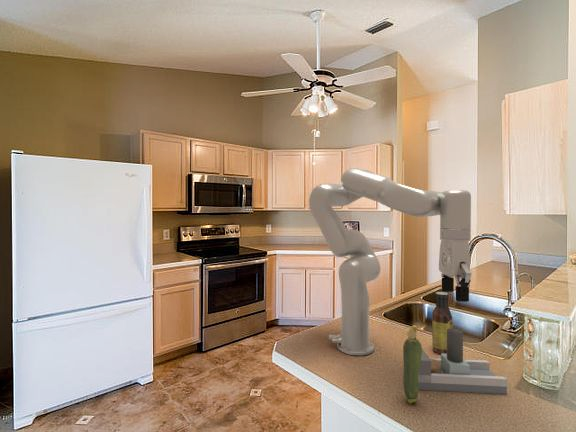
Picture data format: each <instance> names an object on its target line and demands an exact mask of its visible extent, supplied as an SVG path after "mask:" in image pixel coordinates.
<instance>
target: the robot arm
mask: <svg viewBox="0 0 576 432" xmlns="http://www.w3.org/2000/svg"><path fill="white" fill-rule="evenodd" d="M340 183H341V184H340ZM340 183H339V184H338V183H327V182H326V183H320V184H317V185H316V186H314V188H312V190H311V193H310V195H309V198H308V199H309V200H308V205H309V211H310V213H311V215H312V217H313V219H314V220H315V222H316V224H317V226H318V228H319V230H320V232H321V234H322V236H323V238H324V239H325V242H326V244H327V246H328V247H329V250H330V251H331V253H332V254H333V256H335V257H336V258H337V257H338V258H345V257H350V258H348V259H345V260H344V261H343V262H342V263H340V265H339V268H338V279H339V284H340V285H339V286H340V293H341V294H340V296H341V297H340V298H341V330H340V332H339V333H337V334H332V333H331V334H328V341H332V343H334V344H335V343H337V344H336V346H337V349H338V350H339V351H340V352H342V353H344V354H347V355H350V356H354V357H355V356H356V357H357V356H359V357H361V356H368V355H370V354H372V353H373V352H374V350H375V345H374V344H373V342H372V341H370V294H369V290H368V288H367V287H368V286H367V283H369V282H371V281H374V280H375V279H377V278H379V276H380V273H381V269H382V268H381V264H380V261H379V259H378V257H377V255H376V254H375V252H374V249H373V248H372V246H371V245H370V243H369V240H368V239H367V237H366V236H365V234H364V233H362V232H361V231H359V230H357V229H348V228H347V227H346V225H345V223H344V222H343V220H342V218H341V217H340V215H339V214H338V213H337V212H336V211H335V210H334V209H333V207H335V208H336V207H346V206H348V205H351V204H352V203H354V202H356V201H358V200H359V199H361V198H366V199H368V200H372V201H374V202H377V203H380V204H381V205H383V206H385V207H387V208H390V209H392V210H395V211H396V212H397V211H398V212H400V213H403V214H407V215H409V216H411V217H417V218H420V217H422V218H423V217H435V216H439V217H440V218H439V240H440V245H439V246H440V247H439V258H438V270H439V272H440V273H441V274H440V275H441V292H445V293H448V292H451V293H453V292H454V291H455V301H456V302H462V303H463V302H464V303H465V302H466V303H468V302H470V288H471V287H470V286H471V282H472V280H471V277H472V272H471V254H470V253H471V252H470V241H471V238H472V237H471V235H472V234H471V233H472V230H471V228H472V227H471V226H472V225H471V223H472V195H471V193H470V191H468V190H463V189H462V190H459V189H453V190H445V191H435V190H425V189H424V190H423V189H418V188H414V187H411V186H408V185H404V184H401V183H398V182H395V181H393V179H392V178H390V177H389V176H385V175H382V174H377V173H373V171H371V170H368V169H362V168H349V169H347V170H345V171H344V172H343V173H342V175H341V179H340ZM454 279H455V280H454ZM455 283H456V285H455ZM454 289H455V290H454Z"/></svg>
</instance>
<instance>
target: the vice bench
mask: <svg viewBox="0 0 576 432" xmlns="http://www.w3.org/2000/svg"><path fill="white" fill-rule="evenodd" d="M430 359H435V360H438V361H440V362H441V358H436V357H435V358H432V357H431V358H430V357H429V356H428V354H427V353H426V351H425V350H424V349H423V348H422V356H421V363H420V367H419V375H418V377H419V388H418V391H419V390H421V391H440V392H456V393H458V392H459V393H477V394H495V395H496V394H498V395H507V394H508V393H507V392H508V378H506V377H505V376H497V375H495V374H494V373H493V372H492V370H490V362H489V361H488V360H484V359H483V360H482V359H481V360H480V359H464V360H465V361H466V362H467V363H468V365H469V366H470V375H457V374H446V373H445V372H444V371H443V369H442V368H441V374H436V373H431V360H430Z"/></svg>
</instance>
